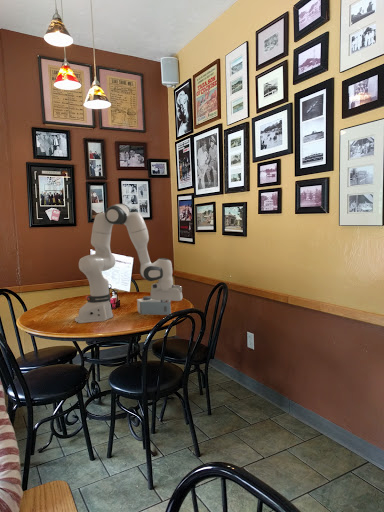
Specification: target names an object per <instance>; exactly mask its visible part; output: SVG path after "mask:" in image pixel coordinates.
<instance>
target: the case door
mask: <svg viewBox="0 0 384 512" xmlns="http://www.w3.org/2000/svg"><path fill="white" fill-rule="evenodd" d="M171 310H172V307H171V302H140V311H141V314H140V315H152V316H153V315H154V316H155V315H157V316H159V315H160V316H170V315H169V314H171V315H172V311H171Z"/></svg>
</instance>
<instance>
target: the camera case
mask: <svg viewBox="0 0 384 512" xmlns="http://www.w3.org/2000/svg"><path fill="white" fill-rule="evenodd" d="M136 302H137V304H136V306H137V312H138V313H139V314H140V315H142V314H141V311H140V302H161V300H152V299H151V295H147V296H146V295H145V296H142V298H137V299H136Z"/></svg>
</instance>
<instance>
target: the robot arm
mask: <svg viewBox="0 0 384 512" xmlns="http://www.w3.org/2000/svg"><path fill="white" fill-rule="evenodd" d="M114 225H120V226H121V225H124V226H125V227H126V230H127V233H128V236H129V238H130V240H131V243H132V244H133V247H134V248H135V250H136V253H137V257H138V260H139V263H140V266H139V274H140V276H141V277H142V278H143V279H144V280H146V281H148V282H154V281H157V282H155V283H152V284H150V287H151V289H150V296H151V299H152V300H163V302H165V301H166V300H167V302H170V303H171V302H172V301H174V302H179V301H180V302H181V301H182V300H183V293H182V292H183V287H182V286H180V285H178V284H174V279H173V278H174V277H173V265H172V264H173V263H172V260H170V259H169V258H164V257H159V258H158V259H157V260H156V261H154V262H151V259H150V255H149V251H148V243H149V240H150V236H149V230H148V227H147V225H146V222H145V220H144V218H143V216H142V214H141V213H140V212H138V211H131V209H130V207H129V206H128V205H127V204H125V203H116V204H113V205H110V206H109V207H107V208H106V209H105V212H99V213H97V214H96V215H95V217H94V220H93V224H92V228H91V229H92V230H91V237H90V245H91V246H92V247H93V248H94V251H95V252H94V254H88V255H85V256H83V257H81V258H79V261H78V269H79V271H80V272H82V273H83V274H84V275H85V276H86V279H87V281H88V283H89V292H90V294H89V295H86V296H85V299H86V300H87V302H86V303H85V304H83V305H82V306H81V307H80V308H79V310H78V316H76V317H75V318H74V321H76V322H75V323H77V322H78V323H77V324H84V323H85V324H86V323H94V322H104V321H107V320H110V319H111V318H113V317H114V313H113V310H112V307H111V294H110V287H109V280H108V279H107V278H105V277H104V275H103V272H104V271H109V270H111V269H112V268H114V266H116V257H115V256H114V255H113V253H112V251H111V240H112V239H111V237H112V230H113V227H114Z"/></svg>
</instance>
